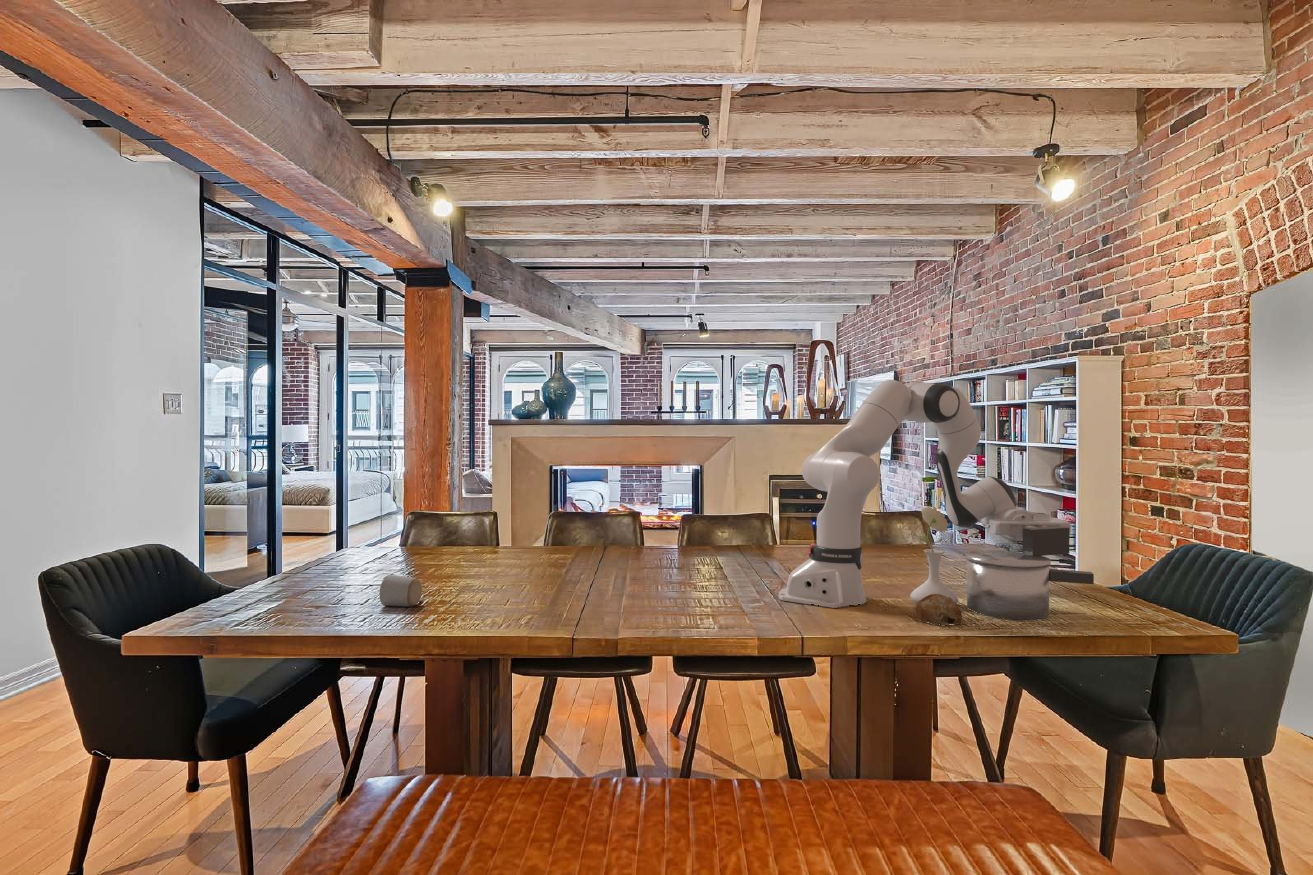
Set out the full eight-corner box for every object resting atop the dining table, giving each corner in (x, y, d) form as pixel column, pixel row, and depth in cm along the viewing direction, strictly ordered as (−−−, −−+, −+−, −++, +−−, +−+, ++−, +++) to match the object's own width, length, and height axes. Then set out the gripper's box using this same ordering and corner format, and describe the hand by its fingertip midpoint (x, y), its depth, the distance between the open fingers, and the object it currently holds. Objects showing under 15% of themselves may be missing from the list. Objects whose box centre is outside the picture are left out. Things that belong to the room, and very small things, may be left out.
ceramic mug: (409, 610, 165) (410, 578, 165) (378, 608, 166) (378, 577, 166) (429, 600, 176) (429, 570, 176) (399, 599, 177) (399, 570, 177)
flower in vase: (966, 610, 166) (966, 509, 165) (919, 610, 166) (920, 509, 166) (944, 597, 179) (945, 504, 178) (901, 597, 179) (901, 503, 179)
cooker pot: (968, 615, 161) (969, 565, 161) (964, 598, 178) (965, 553, 178) (1101, 628, 151) (1101, 574, 151) (1083, 608, 168) (1084, 560, 167)
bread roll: (927, 641, 153) (937, 613, 150) (902, 611, 162) (911, 585, 158) (963, 638, 156) (974, 610, 152) (937, 609, 164) (946, 582, 161)
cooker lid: (1007, 570, 154) (1008, 537, 154) (949, 556, 172) (949, 526, 172) (1098, 563, 163) (1098, 532, 163) (1033, 550, 180) (1033, 522, 180)
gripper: (980, 513, 191) (1003, 519, 177) (1053, 513, 190) (1083, 520, 176) (980, 535, 191) (1003, 543, 177) (1053, 536, 190) (1082, 544, 176)
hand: (1043, 531), depth 177 cm, fingers closed
